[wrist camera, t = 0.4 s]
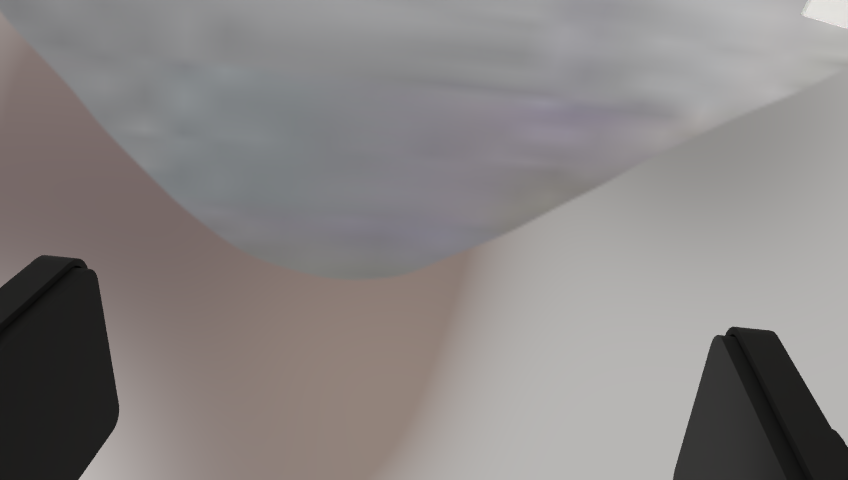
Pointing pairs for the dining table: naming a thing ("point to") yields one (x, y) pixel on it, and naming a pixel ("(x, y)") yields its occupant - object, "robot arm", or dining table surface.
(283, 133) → the dining table surface
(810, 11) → the runner mat
